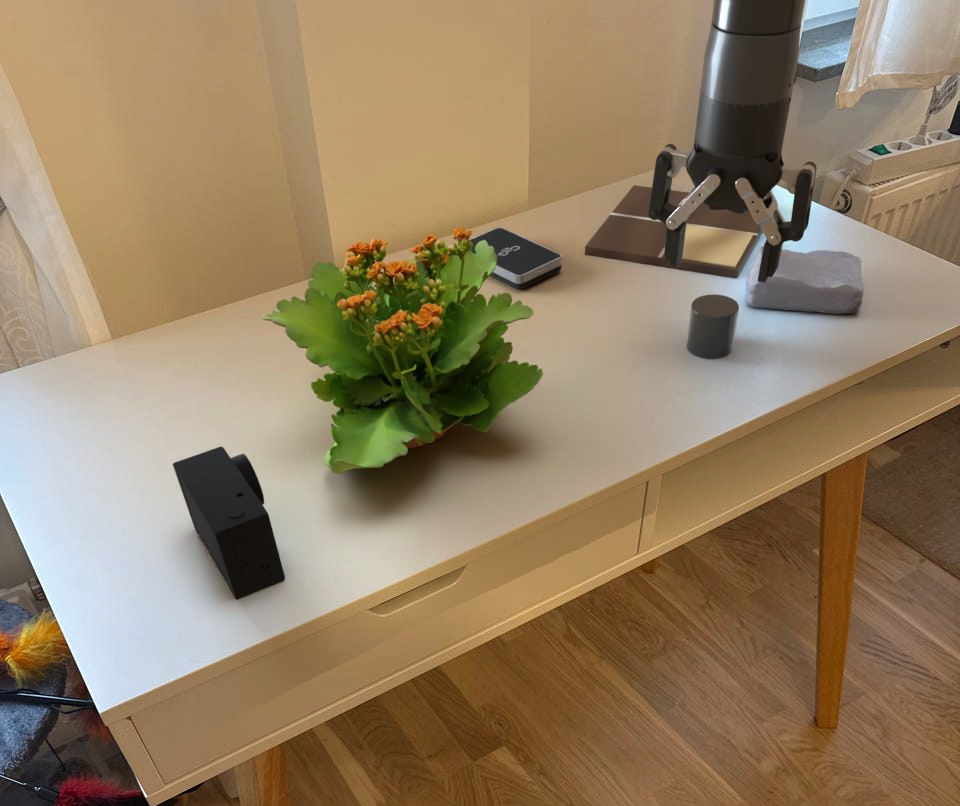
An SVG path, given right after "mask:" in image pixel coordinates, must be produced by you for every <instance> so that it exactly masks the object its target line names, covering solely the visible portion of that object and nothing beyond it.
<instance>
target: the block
mask: <svg viewBox="0 0 960 806" xmlns="http://www.w3.org/2000/svg"><path fill="white" fill-rule="evenodd" d="M763 248H764V245H761V246H760V247H759V248H758V251H757V252H756V253H757V254H756V256H755V258H754V261H753V264H752V267H751V269H750V272H749V274H748V276H747V280H746V283H745V284H746V286H747V293H746V301H747V304H748V306H750V307H752V308H757V309H768V310H769V309H771V310H784V311H797V312H808V313H810V312H818V313H823V314H831V315H841V314H855V313H856V312H857V311H858V310H859V309H860V308H861V307H862V304H863V299H864V298H863V297H864V283H863V277H862V260H861V258H860V257H859V256H856V255H854V253H849V252H846V251H833V250H827V249H826V250H824V249H816V250H811V251H808V252H799V251H794V250H793V251H792V250H789V249H784V248H782V250H781V255H780V260H779V265H778V268H777V270H776V272H775V273H774V275H773V276H772V277H768V278H767V280H766V282H765V283H764V282H758V275H759V270H760V264H761V259H762V253H763Z"/></svg>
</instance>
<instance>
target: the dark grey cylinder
mask: <svg viewBox="0 0 960 806" xmlns="http://www.w3.org/2000/svg"><path fill="white" fill-rule="evenodd" d="M739 311H740V305H739V302H737V301H736V300H735V299H733V297H729V296H728V295H723V294H705V295H701V296H699V297H696V298H695V299H693V300H692V301H691V305H690V314H689V322H688V330H687V331H688V332H687V338H686V349H687V351H688V352H689V353H690V354H692V355H694V356H695V357H697V358H701V359H708V360H713V359H714V360H715V359H721V358H724V357H726V356H728V355H730V354H731V352H732V351H733V347H734V341H735V335H736V329H737V323H738V316H739Z"/></svg>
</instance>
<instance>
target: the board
mask: <svg viewBox="0 0 960 806" xmlns="http://www.w3.org/2000/svg"><path fill="white" fill-rule="evenodd" d="M651 190H652V186H644V185H643V186H642V185H637V184H636V185H635V184H634V185H633V186H632V187H631V188H630V189H629V191H627V193H626V194H625V195H624V196H623V198H622V199H621V200H620V202H619V203H617V205H616V207H615V208H614V209H613V211H612V212H610V213H609V216H607V217H606V219H605V220H604V222H603V223H602V224H601V226H599V228H598V229H597V230H596V232H595V233H594V234H593V235H592V237H591V238H590V239H589V240H588V242H587V243H586V244H585V246H584V255H589V256H595V257H601V258H608V259H614V260H620V261H621V260H622V261H625V262H634V263H639V264H645V265H651V266H652V265H653V266H659V267H665V268H671V269H677V270H684V271H689V272H694V273H695V272H696V273H701V274H708V275H714V276H721V277H727V278H733V279H737V278H738V277H739V275H740V273H741V272H742V269H743V267H744V266H745V264H746V262H747V260H748V258H749V257H750V255H751V253H752V252H753V249H754V248H755V246H756V244H757V242H758V240H759V239H760V237H761V235H762V233H763V231H762V229H761V227H760V226H759V225H757V224H756V222H755V221H754V219H753V217H752V215H751V213H750V211H744V213H743V214H740V213H734V212H732V211H730V210H727V209H723V210H713V209H709V206H707V205H706V204H705V203H704V202H702V203H701V204H700V205H699V206H698V207H697V208H696V209H695V210H694V211H693V213H692V214H691V215H689V216H688V217H687V218H686V219H685V220H684V221H685V222H687V223H686V231H685V240H684V248H683V256H682V260H681V262H680V264H679V265H678V267H677V268H675V267H669V262H670V260H666V259H665V256H664V251H665V241H666V231H667V228H666V225H665V224H664V223H663V222H661V221H660V220H658V219H657V220H652V219H651V218H650V217H649V215H648V211H649V204H650V197H651ZM689 193H690V191H689V192H687V191H681V190H673V189H671V190H670V196H669V203H670V204H672V205H674V206H676V207H677V206H678V205H679V204H680V203H681V202H682V200H683V199H684V198H685V197H686V196H687V195H688V194H689Z"/></svg>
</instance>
